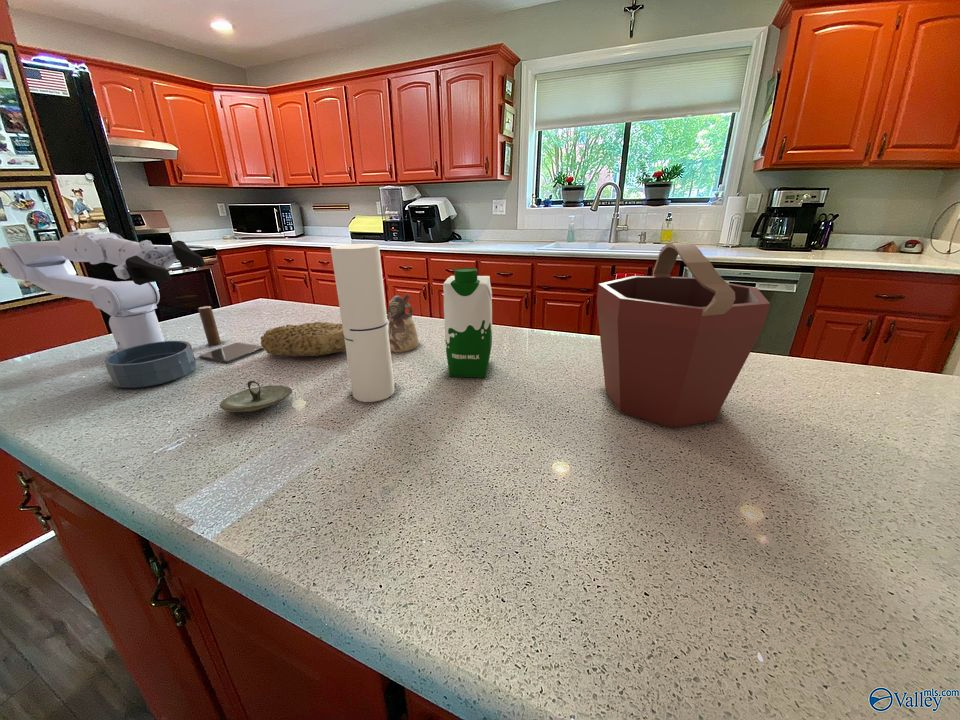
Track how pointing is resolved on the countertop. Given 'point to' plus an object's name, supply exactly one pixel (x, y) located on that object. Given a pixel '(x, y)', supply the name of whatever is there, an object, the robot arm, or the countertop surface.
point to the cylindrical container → (364, 320)
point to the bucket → (676, 338)
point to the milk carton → (468, 323)
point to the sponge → (304, 339)
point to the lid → (255, 398)
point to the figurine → (401, 325)
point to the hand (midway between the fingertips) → (186, 268)
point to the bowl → (150, 363)
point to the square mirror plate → (231, 352)
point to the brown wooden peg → (209, 325)
